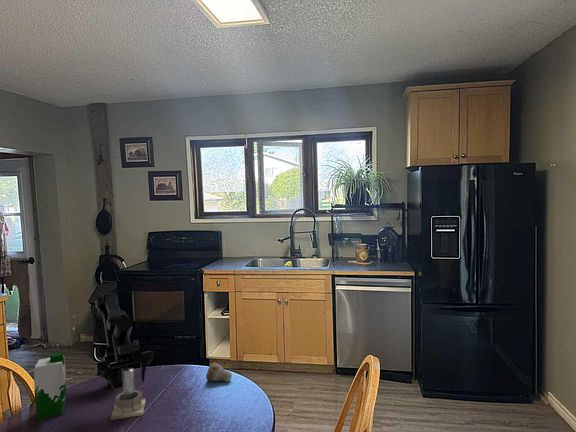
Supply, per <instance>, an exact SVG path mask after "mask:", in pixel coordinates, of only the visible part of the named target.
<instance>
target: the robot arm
mask: <svg viewBox="0 0 576 432" xmlns="http://www.w3.org/2000/svg"><path fill="white" fill-rule="evenodd" d="M118 297H119V296H118V295H117V293H116V292H109V293H104V294H101V296H98V297H97V298H96V299H95V301H94V303H95V309H97V314H98V315H99V316H100V317H102V320H103V321H102V322H103V325H104V332H105V338H106V344H107V345H106V346H107V347H106V349H105V353H104V357H103V359H102V360H100V361H97V363H96V365H95V376H96V377H100V378H104V379H105V380H106V384H105V389H108V388H112V389H113V391H116V387H123V370H124V369H127V368H128V366H129V365H131V364H133V365H134V364H136V363H139V370H140V380H141V383H142V384H143V383H144V382H145V376H146V369H147V368H148V367H149V365H151V364H152V362H153V360H154V357H155V355H154V351H152V350H146V351H141V352H140V355H139V356H135V353H136V352H135V351H137V350H140V348H141V345H140V341H139V339H135V340H133V341H132V342H131V338H130V336H131V332H132V328H133V325H134V322H133V319H131V317H130V316H129V315H128V314H127V312H126V311H125V310H122V309H121V307H120V305H119V298H118ZM134 356H135V357H134Z"/></svg>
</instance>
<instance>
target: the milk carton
mask: <svg viewBox="0 0 576 432" xmlns="http://www.w3.org/2000/svg"><path fill="white" fill-rule="evenodd" d="M33 372H34V375H33V382H34V385H33V386H34V387H33V388H34V406H35V407H34V408H35V413H36V419H38V420H42V419H47V418H52V417H53V418H54V417H57V416H61V415H63V411H64V409H65V405H66V404H65V403H66V397H67V385H66V384H67V383H66V382H67V381H66V380H67V379H66V360H65V355H64V352H63V351H59V352H52V353H51V354H50V355H49V357H47V358H40V359H38V361H37V363H36V364H35V366H34V371H33Z"/></svg>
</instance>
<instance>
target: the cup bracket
mask: <svg viewBox="0 0 576 432" xmlns="http://www.w3.org/2000/svg"><path fill="white" fill-rule="evenodd" d="M114 403H115V404H114V407H113V410H112V412H111V416H110V421H113V420H114V421H115V420H119V419H120V420H122V419H127V418H133V417H139V416H144V413H145V406H146V398H143V393H142V391H140V390H138V389H137V390H136V389H134V398H133V399H131V400H123V392H121V393H119V394H117V395H116V397H115V400H114Z"/></svg>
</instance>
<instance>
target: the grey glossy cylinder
mask: <svg viewBox="0 0 576 432" xmlns="http://www.w3.org/2000/svg"><path fill="white" fill-rule="evenodd" d="M134 390H135V368H133V367H129V368H128V367H127V368H123V386H122V393H123V400H131V399H133V398H134Z"/></svg>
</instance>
